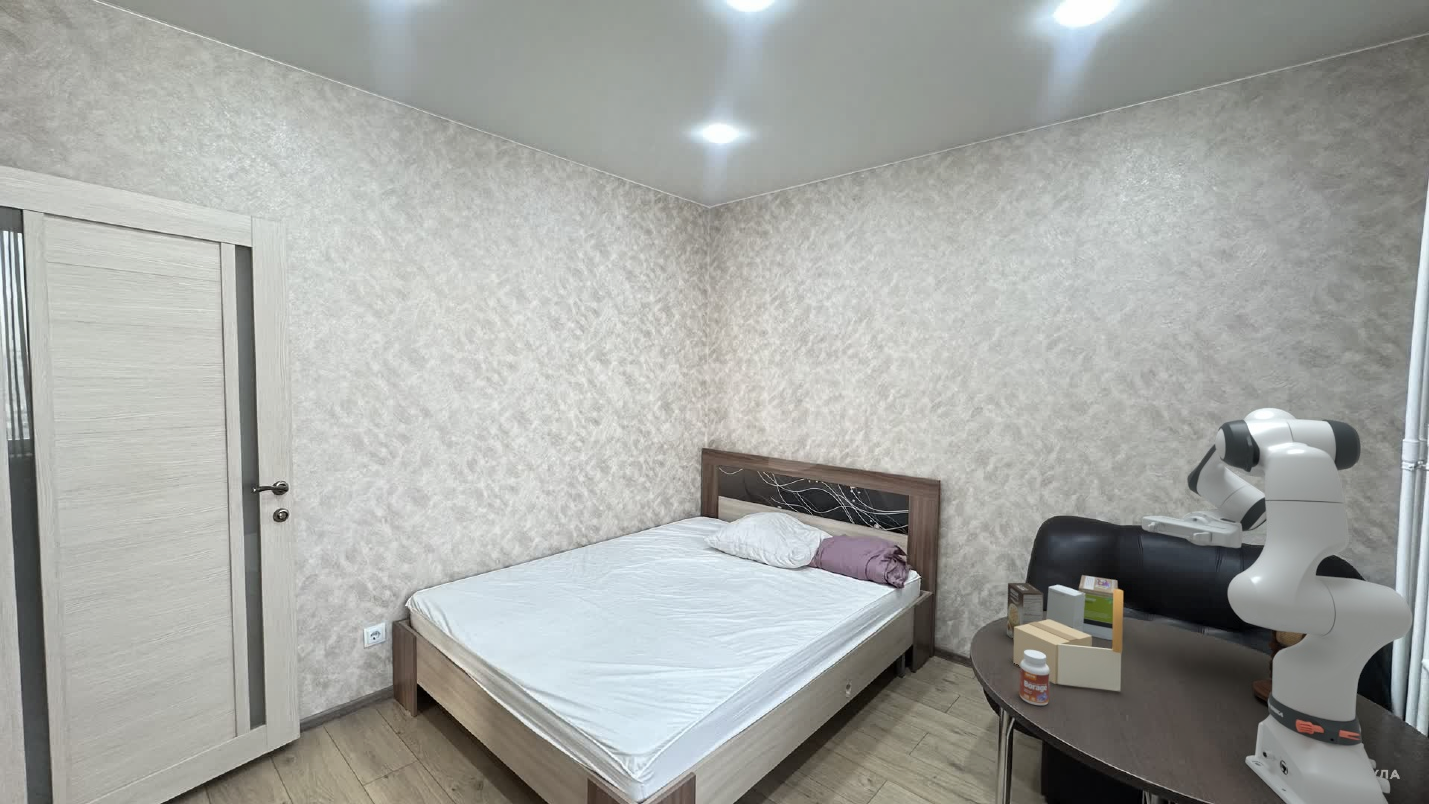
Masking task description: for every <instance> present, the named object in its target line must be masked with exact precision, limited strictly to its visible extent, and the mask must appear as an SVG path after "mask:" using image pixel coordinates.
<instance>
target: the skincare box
mask: <svg viewBox="0 0 1429 804" xmlns="http://www.w3.org/2000/svg"><path fill="white" fill-rule="evenodd" d="M1047 592H1048V593H1047V604H1046V605H1047V606H1046V619H1045V620H1048V619H1050V620H1053V621H1055V622H1058V623H1060V624H1063V625H1065V626H1068V627H1071V628H1073V629H1076V630H1078V631H1081V632H1083V621H1084V606H1085V593H1083V592H1080V591H1079V590H1076V589H1073V588H1071V587H1067V586H1064V585H1060V584H1056V585H1051V586H1048V591H1047Z"/></svg>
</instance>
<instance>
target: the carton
mask: <svg viewBox="0 0 1429 804" xmlns="http://www.w3.org/2000/svg"><path fill="white" fill-rule="evenodd" d="M1058 644H1067V645H1077V646H1087V647H1093V637H1092V636H1091V635H1088V634H1086V633H1083V632H1081V631H1078V630H1076V629H1073V628H1071V627H1068V626H1065V625H1063V624H1060V623H1058V622H1055V621H1053V620H1050V619H1048V620H1046V619H1043V621H1039V622H1031V623H1028V624H1025V625H1021V626H1016V627H1014V640H1013V664H1014V663H1015V664H1014V665H1016V664H1018V665H1019V666H1018V665H1017V666H1018V667H1020V663H1021V661H1022V660H1024V651H1025V650H1036V651H1039V652H1042V653H1043V654H1045V655H1046V663H1045V664H1046V665H1047V666H1048V667H1049V672H1050V673H1049V683H1052V684H1054V685H1056V684H1057V685H1058V683H1057V681H1058Z"/></svg>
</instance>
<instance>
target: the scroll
mask: <svg viewBox="0 0 1429 804" xmlns="http://www.w3.org/2000/svg"><path fill="white" fill-rule="evenodd" d="M1270 633H1271V636H1270V639H1271V640H1270V641H1268V647H1269V648H1270V651H1272V652H1271V653H1270V660H1269V662H1268V664H1269V666H1268V667H1269V672H1270V673H1269V678H1270V679H1262V680H1261V679H1260V680H1256V681H1254V682H1253V683H1252V688H1251V689H1252V693H1253V695H1254V696H1255V698H1257V697H1258V698H1260V699H1261V700H1263V701H1265V702H1267V703H1268V699H1269V694H1270V692H1272V676H1273V659H1274V657H1275V655H1276V654H1277V653H1278V652H1279V651H1280V650H1282V649H1284V648H1287V647H1290V646H1293V645H1295V644H1297V643H1299V642H1300V641H1301V640H1303V639H1304V638H1305V636H1306V635H1307V634H1304V633H1294V632H1285V631H1276V630H1272V629H1270Z"/></svg>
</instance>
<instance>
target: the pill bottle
mask: <svg viewBox="0 0 1429 804" xmlns="http://www.w3.org/2000/svg"><path fill="white" fill-rule="evenodd" d="M1045 663H1046V655H1045V654H1043V653H1042V652H1039V651H1036V650H1025V651H1024V660H1022V661H1021V663H1020V666H1019V697H1020V698H1021V699H1022V700H1023V701H1024V702H1026V703H1028V704H1030V705H1034V706H1046V705H1048V704H1049V700H1050V681H1049V673H1050V672H1049V667H1048V666H1047V665H1046V664H1045Z"/></svg>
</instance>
